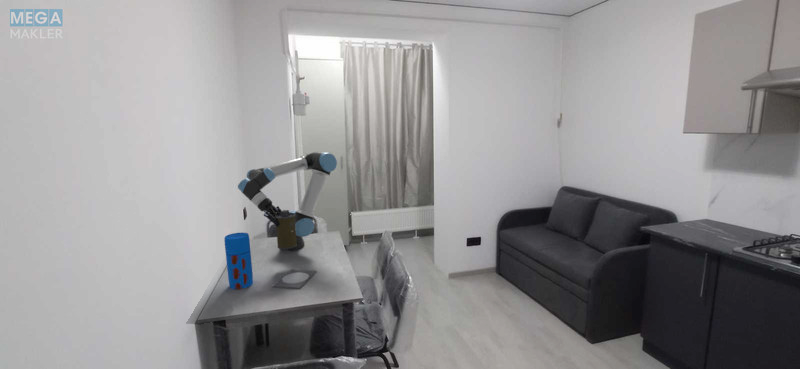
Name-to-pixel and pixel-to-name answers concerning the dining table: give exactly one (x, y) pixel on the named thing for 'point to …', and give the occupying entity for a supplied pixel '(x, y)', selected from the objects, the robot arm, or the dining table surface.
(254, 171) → the robot arm
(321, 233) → the dining table surface
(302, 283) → the circle mat
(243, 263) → the thermos
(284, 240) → the canister
